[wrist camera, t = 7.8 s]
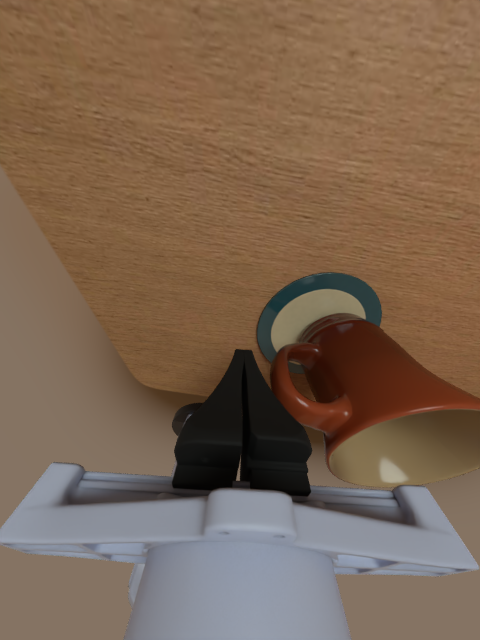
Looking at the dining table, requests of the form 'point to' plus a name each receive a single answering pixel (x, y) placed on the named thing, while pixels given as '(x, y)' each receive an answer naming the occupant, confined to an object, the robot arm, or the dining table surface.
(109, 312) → the dining table surface
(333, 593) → the robot arm
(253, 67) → the dining table surface
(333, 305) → the plate
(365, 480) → the mug
